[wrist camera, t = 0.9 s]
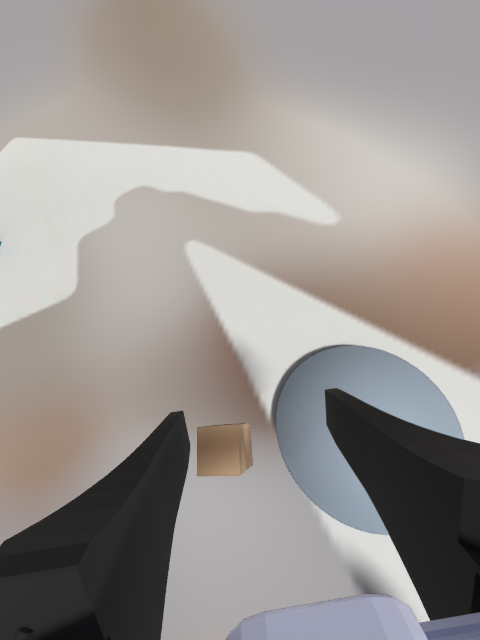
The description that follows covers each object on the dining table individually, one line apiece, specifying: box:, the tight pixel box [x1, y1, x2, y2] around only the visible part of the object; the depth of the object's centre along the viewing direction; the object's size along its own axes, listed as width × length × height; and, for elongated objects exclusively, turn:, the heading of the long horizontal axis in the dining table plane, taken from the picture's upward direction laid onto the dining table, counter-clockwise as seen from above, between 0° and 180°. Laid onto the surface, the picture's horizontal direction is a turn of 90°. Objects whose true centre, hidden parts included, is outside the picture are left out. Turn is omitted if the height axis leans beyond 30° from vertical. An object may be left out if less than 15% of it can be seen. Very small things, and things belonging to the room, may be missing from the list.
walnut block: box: [197, 423, 253, 476], centre depth 24 cm, size 4×4×5 cm
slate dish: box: [276, 346, 464, 535], centre depth 23 cm, size 16×16×1 cm
